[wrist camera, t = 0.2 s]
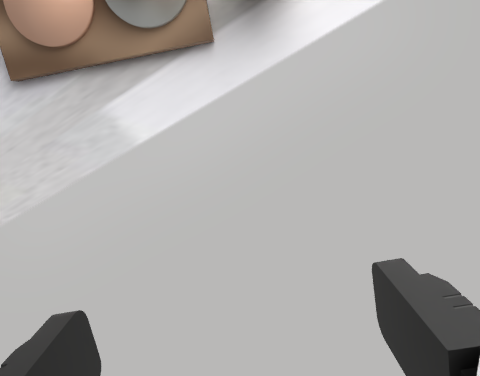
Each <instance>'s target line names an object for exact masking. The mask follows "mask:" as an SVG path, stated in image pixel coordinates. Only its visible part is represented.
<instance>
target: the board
mask: <svg viewBox="0 0 480 376" xmlns="http://www.w3.org/2000/svg"><path fill="white" fill-rule="evenodd" d="M210 42H214V38H213V32H212V27H211V22H210V17H209V12H208V6H207V1H206V0H95V12H94V17H93V21H92V23H91V26H90V28H89V29H88V31H87V32H86V34H85V35H84V36H83V37H82V38H81V39H80V40H78V41H77V42H75V43H73V44H71V45H69V46H65V47H47V46H44V45H41V44H37V43H35V42H33V41H31V40H29V39H27V38H26V37H25V36H23V35H22V34H21V33H20V32H19V31H18V30H17V29H16V28H15V26H14V25H13V24H12V22H11V21H10V19H9V17H8V15H7V12H6V10H5V6H4V2H3V0H0V47H1V51H2V54H3V57H4V60H5V63H6V67H7V70H8V73H9V76H10V79H11V81H23V80H28V79H33V78H38V77H43V76H48V75H53V74H57V73H62V72H67V71H72V70H77V69H82V68H87V67H92V66H97V65H102V64H107V63H111V62H116V61H121V60H126V59H131V58H136V57H141V56H146V55H151V54H156V53H161V52H165V51H170V50H175V49H180V48H185V47H190V46H195V45H200V44H205V43H210Z"/></svg>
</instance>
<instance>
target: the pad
mask: <svg viewBox="0 0 480 376" xmlns="http://www.w3.org/2000/svg"><path fill="white" fill-rule="evenodd" d="M3 2H4V6H5V10H6V12H7V15H8V17H9V19H10V21H11V22H12V24H13V25H14V26H15V28H16V29H17V30H18V31H19V32H20V33H21V34H22V35H23V36H25V37H26V38H27V39H29V40H31V41H33V42H35V43H37V44H41V45H44V46H47V47H65V46H69V45H71V44H73V43H75V42H77V41H78V40H80V39H81V38H82V37H83V36H84V35H85V34H86V32H87V31H88V29H89V28H90V26H91V23H92V21H93V17H94V12H95V0H3Z"/></svg>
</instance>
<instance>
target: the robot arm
mask: <svg viewBox="0 0 480 376" xmlns="http://www.w3.org/2000/svg"><path fill="white" fill-rule="evenodd" d="M372 275H373V284H374V293H375V302H376V311H377V318H378V323H379V327H380V330H381V333H382V335H383V337H384V339H385V341H386V343H387V344H388V346H389V348H390V349H391V351H392V353H393V355H394V356H395V358H396V360H397V361H398V363H399V365H400V367H401V368H402V370H403V371H404V373H405V375H406V376H480V310H479V309H478V308H477V307H475V306H473V304H472V303H471V302H470V301H469V300H468V299H467V298H466V297H464V296H462V295H461V293H460V292H459V291H457V290H456V289H455V288H454V287H453V286H452V285H451V284H450V283H449V282H447V281H445V280H442V279H440V278H438V277H436V276H433V275H431V274H429V273H427V274H421V275H419V274H418V273H417V272H416V271H415V270H414V269H413V268H412V267H411V266H410V265H409V264H408V263H407V262H406V261H405V260H404V259H402V258H400V259H394V260H387V261H382V262H376V263H373V265H372ZM100 373H101V360H100V356H99V353H98V350H97V346H96V343H95V340H94V337H93V334H92V330H91V327H90V324H89V321H88V318H87V316H86V314H85V313H84V312H83V311H80V310H79V311H74V312H67V313H61V314H55V315H52V316H51V317H50V318H49V319H48V320H47V321H46V322H45V323H44V324H43V326H42V327H41V328H40V329H39V330H38V331H37V332H36V333H35V334H34V336H33V337H32V338H31V339H30V340H28V341H27V342H25V343H24V344H23V345H21V346H20V347H19V348H17V349H16V350H15V351H14V352H13V353H12V354H11V355H10V356H9V357H8V358H7V359H6V360H5V361H4V362H3V364H2V365H1V368H0V376H100Z"/></svg>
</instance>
